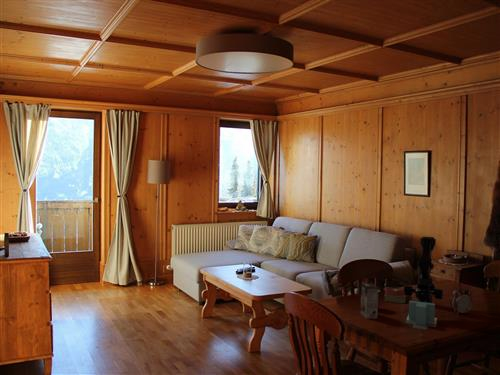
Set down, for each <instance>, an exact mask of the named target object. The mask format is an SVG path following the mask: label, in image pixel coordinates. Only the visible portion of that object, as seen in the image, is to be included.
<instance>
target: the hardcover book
mask: <svg viewBox="0 0 500 375" xmlns="http://www.w3.org/2000/svg"><path fill="white" fill-rule="evenodd" d="M384 290H385V291H384V297H383V298H384V299H383V301H384V302H387V301H388V302H390V303H397V304H398V303H399V304H406V299H407V295H404V288H401V287H400V288H399V287H389V286H388V287H387V286H386V287H385V289H384Z"/></svg>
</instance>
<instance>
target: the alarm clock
mask: <svg viewBox="0 0 500 375" xmlns="http://www.w3.org/2000/svg"><path fill="white" fill-rule="evenodd" d="M461 287H465V289H463V290H460V289H459V288H461ZM450 306H451V308H452V309H453V310H454V311H453V312H454V313H455V312H457V313H456V314H457V315H459V313H461V314H465V313H467V315H468V314H469V311H470V310H471V309H472V306H473V298H472V291H471V290H470V288H468V286H467V285H464V284H463V285H458V286H457V287H456V288H454V290H453V291H452V295H451V297H450Z"/></svg>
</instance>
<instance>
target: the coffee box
mask: <svg viewBox="0 0 500 375" xmlns="http://www.w3.org/2000/svg"><path fill="white" fill-rule="evenodd" d="M378 290H379V287H378V286H377V285H375V283H373V282H371V283H369V282H362V283H360V314H361V316H363V317H364V318H365V319H378V316H379V315H378V312H379V310H378V309H379V300H378Z"/></svg>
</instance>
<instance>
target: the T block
mask: <svg viewBox="0 0 500 375" xmlns="http://www.w3.org/2000/svg"><path fill="white" fill-rule="evenodd" d="M435 309H436V304H435V303H433V302H432V303H425V302H419V301H415V300H409V302H408V315H409V320H414V321H416V324H417V325H424V326H425V325H426V322H429V323H434V319H435V318H436V317H435V316H436V315H435V313H436V310H435Z"/></svg>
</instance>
